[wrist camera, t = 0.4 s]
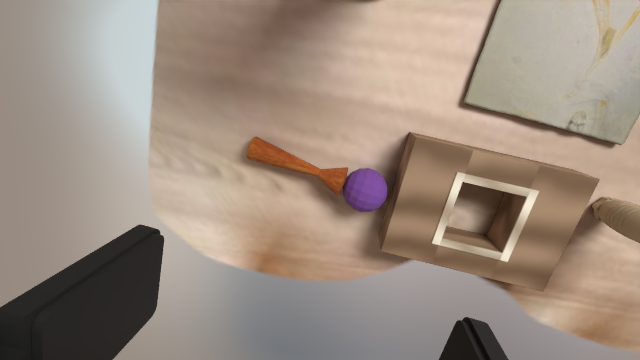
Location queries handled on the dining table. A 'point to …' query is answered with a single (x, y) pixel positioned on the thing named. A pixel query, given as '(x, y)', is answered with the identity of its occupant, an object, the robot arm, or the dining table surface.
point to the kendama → (328, 176)
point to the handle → (619, 216)
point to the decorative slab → (563, 65)
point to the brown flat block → (510, 219)
